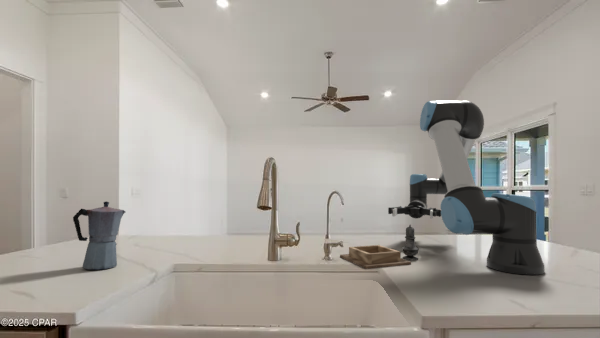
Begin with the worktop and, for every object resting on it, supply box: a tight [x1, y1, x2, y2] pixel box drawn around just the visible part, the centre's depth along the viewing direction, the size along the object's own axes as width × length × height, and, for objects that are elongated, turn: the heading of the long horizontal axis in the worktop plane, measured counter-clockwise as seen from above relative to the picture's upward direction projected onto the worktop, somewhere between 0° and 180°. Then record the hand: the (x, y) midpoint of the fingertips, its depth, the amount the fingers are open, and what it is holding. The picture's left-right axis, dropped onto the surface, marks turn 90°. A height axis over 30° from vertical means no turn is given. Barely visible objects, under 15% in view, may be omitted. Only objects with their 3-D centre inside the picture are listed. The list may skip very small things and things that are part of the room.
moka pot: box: [72, 201, 126, 270], centre depth 99 cm, size 10×15×20 cm, turn 155°
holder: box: [339, 244, 412, 270], centre depth 111 cm, size 17×17×4 cm
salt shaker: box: [401, 224, 420, 261], centre depth 115 cm, size 6×6×12 cm
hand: (412, 213), depth 125 cm, fingers open, 13 cm apart
